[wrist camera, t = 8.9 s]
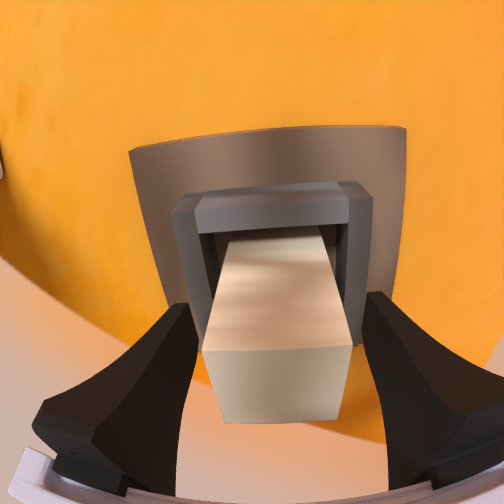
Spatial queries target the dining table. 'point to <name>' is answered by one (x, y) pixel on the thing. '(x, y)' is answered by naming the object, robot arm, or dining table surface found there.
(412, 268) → the dining table surface
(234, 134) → the socket block
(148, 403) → the robot arm
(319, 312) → the square peg
